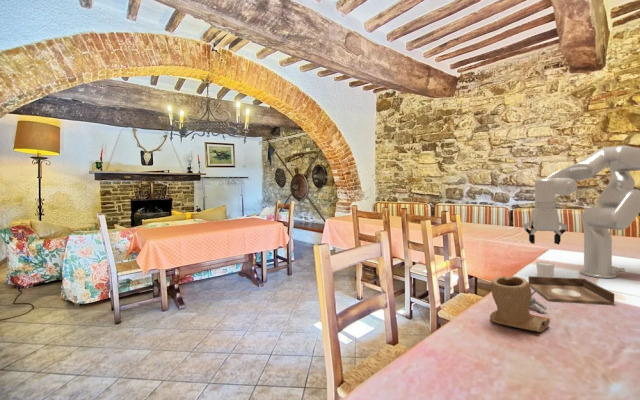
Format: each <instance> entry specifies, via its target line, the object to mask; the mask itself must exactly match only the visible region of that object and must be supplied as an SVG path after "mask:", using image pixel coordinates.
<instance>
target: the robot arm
mask: <svg viewBox="0 0 640 400" xmlns="http://www.w3.org/2000/svg"><path fill="white" fill-rule="evenodd" d="M607 168H609V172H610V179H609V182H608V184H607V185H606V186H605V188H604V189H603V190H602V192H601V193H600V194H599V196H598V197H597V204H598V206H591V207H587V208H586V209H584V210H583V211H582V213H581V215H580V216H581V223H582V228H583V268H582V269H581V268H580V269H579V273H580V274H581V275H584V276H586V277H587V276H588V277H592V278H597V279H615V278H617V272H618V273H626V269H625V267H618V266H613V265H612V261H613V259H612V257H613V248H612V246H613V237H612V234H611V232H610V231H609V230H613V231H622V230H625V229H628V228H630V226H631V225H632V224H633V222H634V220H636V218H637V217H638V216H639V214H640V190H639V189H637V188H635V186H636V182H635V179H634V178H633V176H632V174H631V172H635V171H636V172H637V171H639V172H640V147H635V146H629V145H616V146H607V147H602V148H599V149H597V150H595V151H593V152H592V153H590V154H588V155H587V156H586V157H584V158H583V159H581V160H580V161H578V162H577V163H574V164H571V165H569V166H567V167H564V168H561V169H559V170H557V171H555V172H553V173H551V174H550V175H548V176H547V177H546V178H538V179H536V180H535V181H534V208H532V211H531V214H530V221H528V222H526V223H524V224H522V227H523V230H524V231H525V232H526V233H527V234H528V235H529V236H528V241H529V243H530V244H535V243H536V242H535V239H536V238H535V237H536V235H535V233H536V232H553V233H555V234H554V236H553V237H554V239H553V240H554V241H553V244H556V245H560V243H561V236H562V235H563V234H564V233H566V231H567V229H568V225H567V224H565V223H562V222H560V218H559V217H560V216H559V212H558V209H556V208H557V207H559V206H560V203H559V202H558V203H557V201H556V198H557V196H556V195H559V196H560V195H561V196H564V195H565V196H566V195H567V196H568V195H571V194H573V193H576V191H577V189H578V184H577V182H579V181H583V180H587V179H590V178H594V177H595V176H596V175H597V174H599V173H601V172H602V171H603V170H604V169H605V170H606V169H607ZM560 227H561V229H560ZM529 228H530V229H529Z"/></svg>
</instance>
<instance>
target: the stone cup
mask: <svg viewBox="0 0 640 400" xmlns="http://www.w3.org/2000/svg"><path fill="white" fill-rule="evenodd" d="M490 289H491V294H492V295H491V296H492V298H493V300H494V303H495V305H496V309H497V310H494V311H493V312H491V313H490V314H489V318H490V320H491V321H492V322H493V323H496V324H499V325H504V326H508V327H513V328H517V329H522V330H527V331H533V332H539V333H541V332H543V331H545V330H546V329H547V328H548V326H550V322H551V319H550V318H549V317H543V316H539V315H534V314H531V313H530V301H531V293H532V288H531V287H530V285H529V281H528V280H526V279H525V278H523V277H521V276H515V275H514V276H513V275H512V276H498V277H496V278H494V279H492V281H491V282H490Z"/></svg>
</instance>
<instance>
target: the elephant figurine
mask: <svg viewBox="0 0 640 400" xmlns="http://www.w3.org/2000/svg"><path fill="white" fill-rule="evenodd" d="M537 290H538V289H535V290H533V291H531V301H530V306H531V307H533V308H534V309H536V311H538V312H539V313H540V314H544V311H547V309H548V308H547V306H545V305H543V304H542V303H541V302H539V301H538V300H537V299H536V298H535V297H534V296H533V295H534V294H535V293H537V292H536V291H537ZM530 306H529V307H530Z"/></svg>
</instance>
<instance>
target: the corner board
mask: <svg viewBox="0 0 640 400" xmlns="http://www.w3.org/2000/svg"><path fill="white" fill-rule="evenodd" d="M528 283H529V285H530V288H531V290H533V291H534V290H535V289H538V290H537V291H536V293H537V294H539V295H540V296H541V297H542V298H544V299H545V300H546V301H547V302H556V303H557V302H558V303H573V304H574V303H576V304H589V305H590V304H591V305H592V304H593V305H608V306H615V293H614V292H612V291H610V290H607V289H605V288H603V287H601V286H600V285H598V284H596V283H593V282H592V281H590V280H589V279H586V278H577V277H572V278H571V277H555V276H553V277H538V276H528Z"/></svg>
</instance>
